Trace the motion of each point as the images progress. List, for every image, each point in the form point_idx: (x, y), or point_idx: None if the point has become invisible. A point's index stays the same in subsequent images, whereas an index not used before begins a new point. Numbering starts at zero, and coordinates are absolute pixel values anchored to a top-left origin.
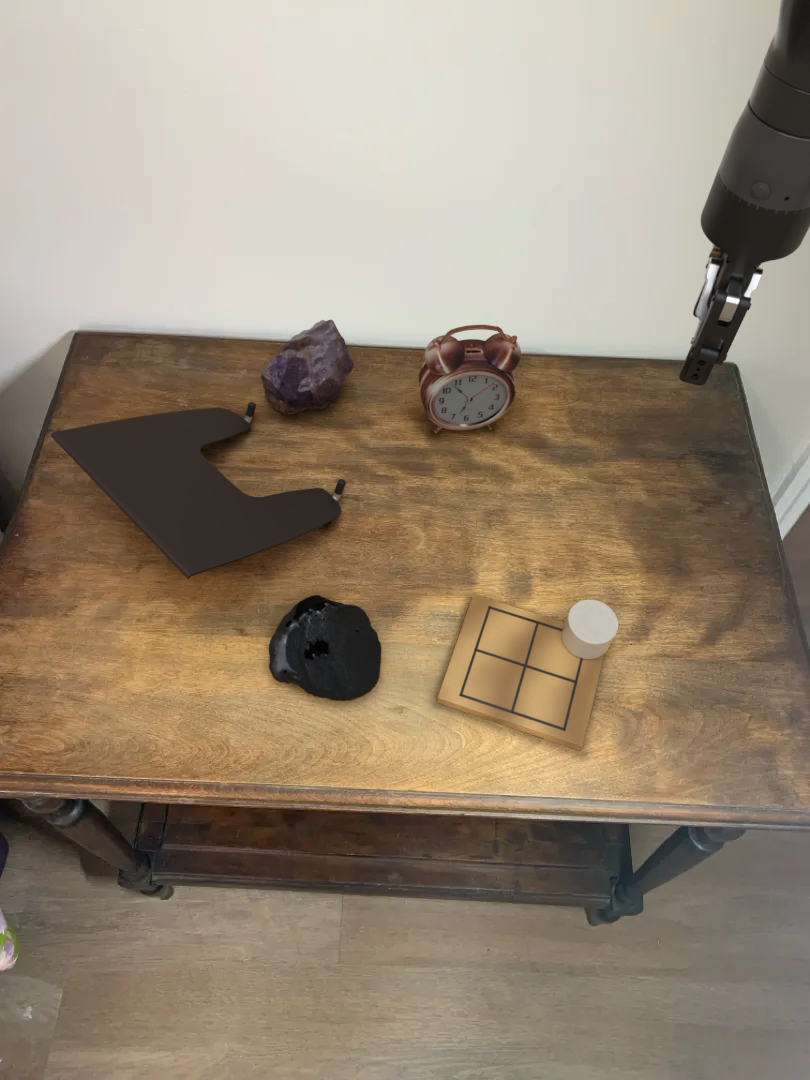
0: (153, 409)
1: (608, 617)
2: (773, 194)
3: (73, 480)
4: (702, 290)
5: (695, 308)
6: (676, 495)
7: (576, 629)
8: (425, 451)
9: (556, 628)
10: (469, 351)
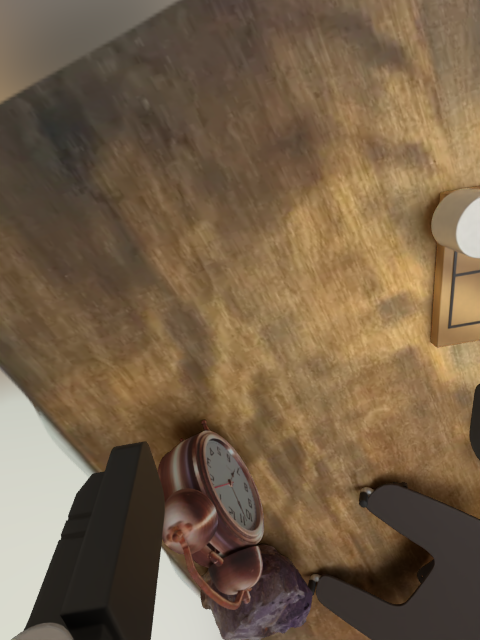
0: (331, 621)
1: (477, 210)
2: None
3: None
4: (149, 624)
5: (161, 529)
6: (176, 182)
7: None
8: (269, 456)
9: (456, 254)
10: (213, 550)
